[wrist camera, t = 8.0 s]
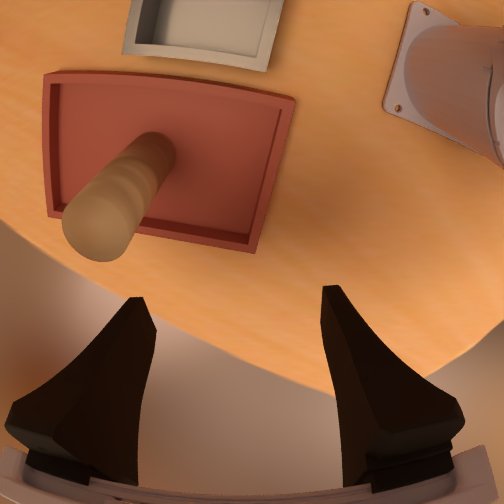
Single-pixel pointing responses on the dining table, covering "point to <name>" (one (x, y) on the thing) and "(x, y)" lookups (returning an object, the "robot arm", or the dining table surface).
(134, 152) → the dowel
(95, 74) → the tray
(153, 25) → the grey open box
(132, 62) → the dining table surface
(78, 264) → the dining table surface
